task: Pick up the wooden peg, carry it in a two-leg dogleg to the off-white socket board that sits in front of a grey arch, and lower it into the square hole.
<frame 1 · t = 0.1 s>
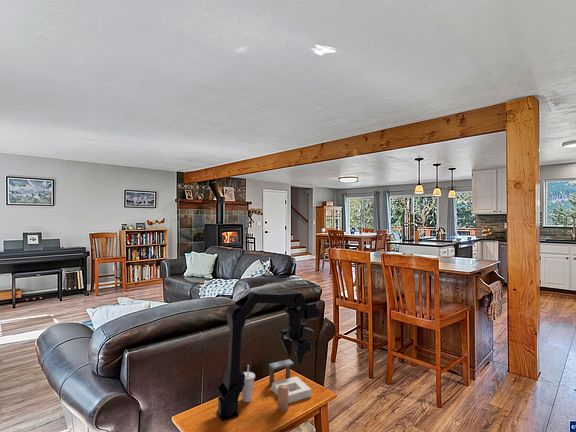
hand: (294, 360, 136), 14 cm above the table, fingers open, 9 cm apart
smoothie: (246, 399, 133), on the table
socket board: (292, 394, 137), on the table
grey arch: (281, 383, 146), on the table
peg: (283, 408, 127), on the table
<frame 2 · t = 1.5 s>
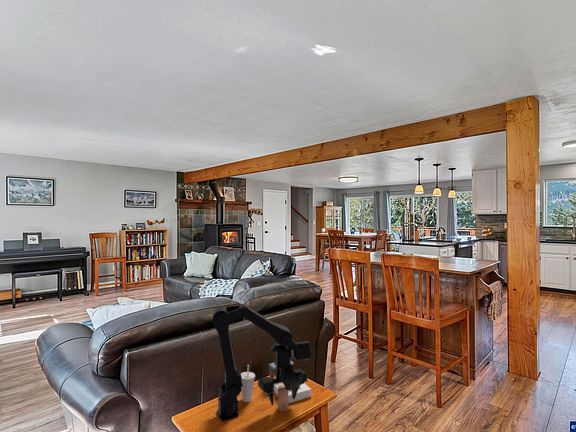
hand: (282, 401, 127), 2 cm above the table, fingers open, 9 cm apart
nothing on the table moved.
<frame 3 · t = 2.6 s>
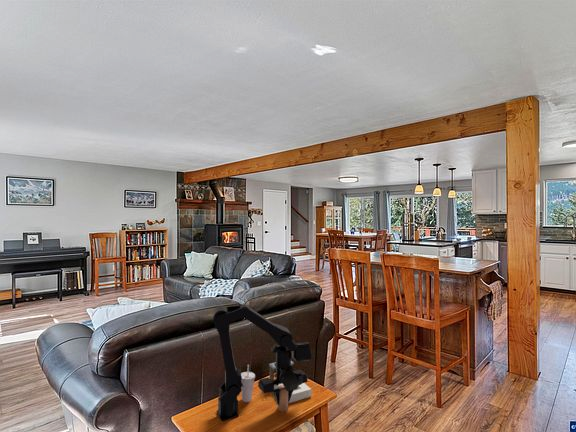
hand: (283, 402, 127), 2 cm above the table, fingers closed on peg, 4 cm apart
peg: (283, 408, 127), on the table, touching gripper
everything else where it was.
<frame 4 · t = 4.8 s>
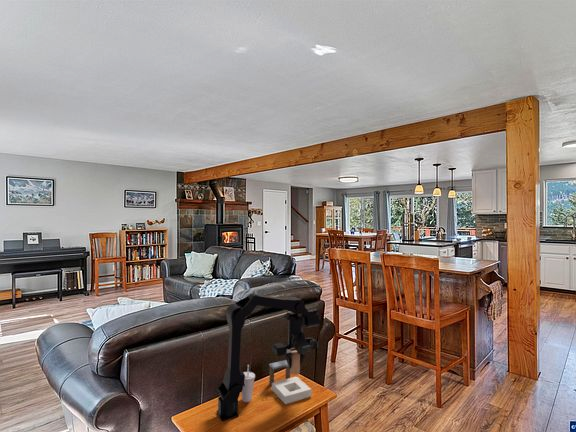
hand: (294, 367, 135), 12 cm above the table, fingers closed on peg, 4 cm apart
peg: (294, 372, 135), point 10 cm above the table, touching gripper
everything else where it was.
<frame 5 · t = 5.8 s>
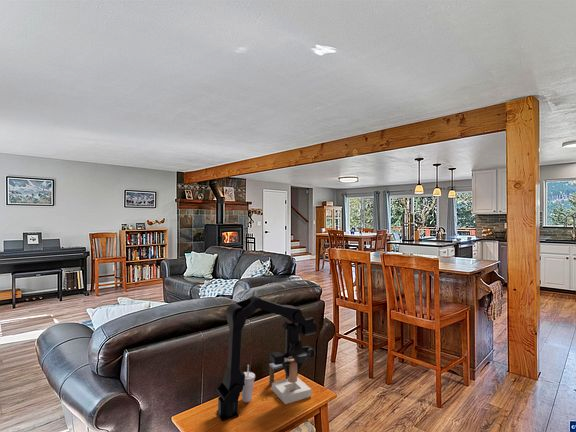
hand: (292, 375, 137), 8 cm above the table, fingers closed on peg, 4 cm apart
peg: (292, 380, 137), point 6 cm above the table, touching gripper
everything else where it was.
when the fingers open (3 cm above the table, at t = 6.9 s): peg drops 1 cm, resting in socket board.
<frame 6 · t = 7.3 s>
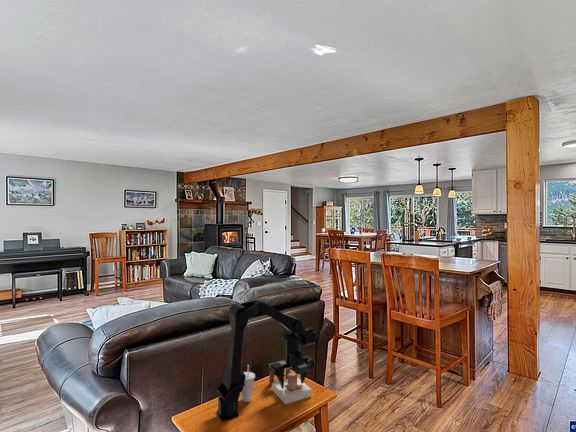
hand: (292, 385, 137), 3 cm above the table, fingers open, 9 cm apart
peg: (292, 394, 137), resting in socket board
everything else where it was.
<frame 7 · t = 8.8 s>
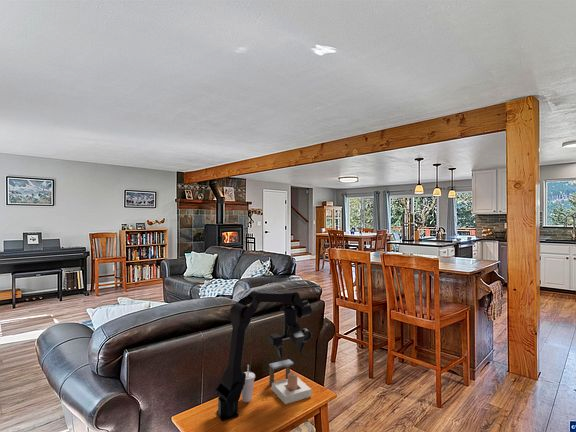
hand: (290, 356, 143), 13 cm above the table, fingers open, 9 cm apart
nothing on the table moved.
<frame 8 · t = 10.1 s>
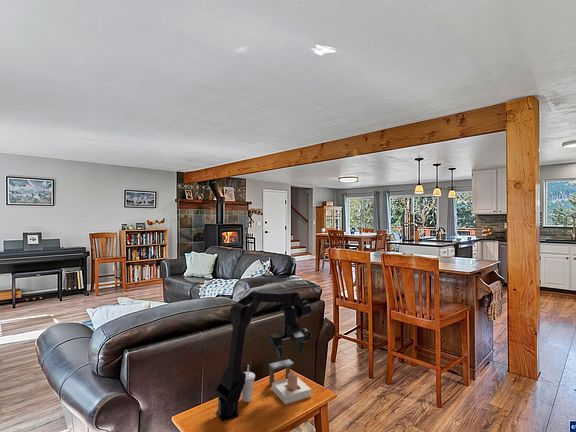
hand: (289, 356, 143), 13 cm above the table, fingers open, 9 cm apart
nothing on the table moved.
at the end: peg 0.0 cm off-centre on the socket board, point 0.0 cm above the socket board's base; peg tilted 1° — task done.
